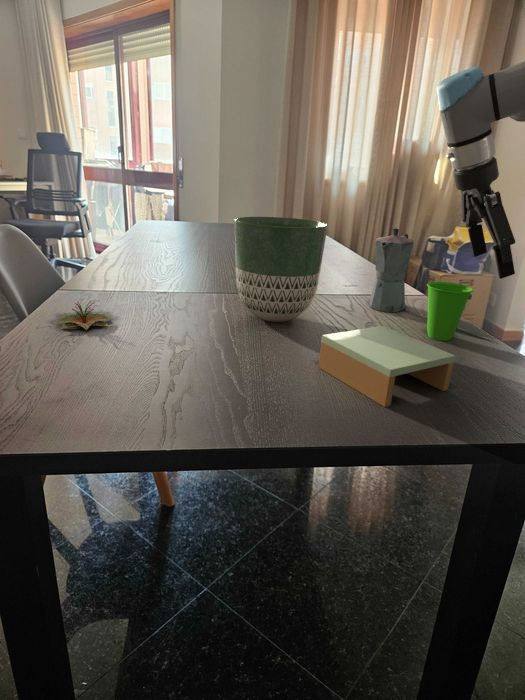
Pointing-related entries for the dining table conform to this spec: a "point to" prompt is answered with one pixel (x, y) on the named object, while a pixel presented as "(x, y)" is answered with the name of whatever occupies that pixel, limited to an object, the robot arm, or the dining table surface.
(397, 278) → the moka pot
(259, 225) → the planter
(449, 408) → the dining table surface
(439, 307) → the cup
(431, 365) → the shelf
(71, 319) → the lily flower
